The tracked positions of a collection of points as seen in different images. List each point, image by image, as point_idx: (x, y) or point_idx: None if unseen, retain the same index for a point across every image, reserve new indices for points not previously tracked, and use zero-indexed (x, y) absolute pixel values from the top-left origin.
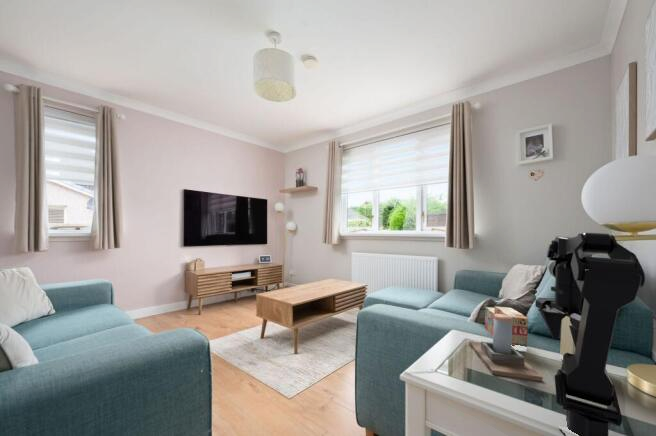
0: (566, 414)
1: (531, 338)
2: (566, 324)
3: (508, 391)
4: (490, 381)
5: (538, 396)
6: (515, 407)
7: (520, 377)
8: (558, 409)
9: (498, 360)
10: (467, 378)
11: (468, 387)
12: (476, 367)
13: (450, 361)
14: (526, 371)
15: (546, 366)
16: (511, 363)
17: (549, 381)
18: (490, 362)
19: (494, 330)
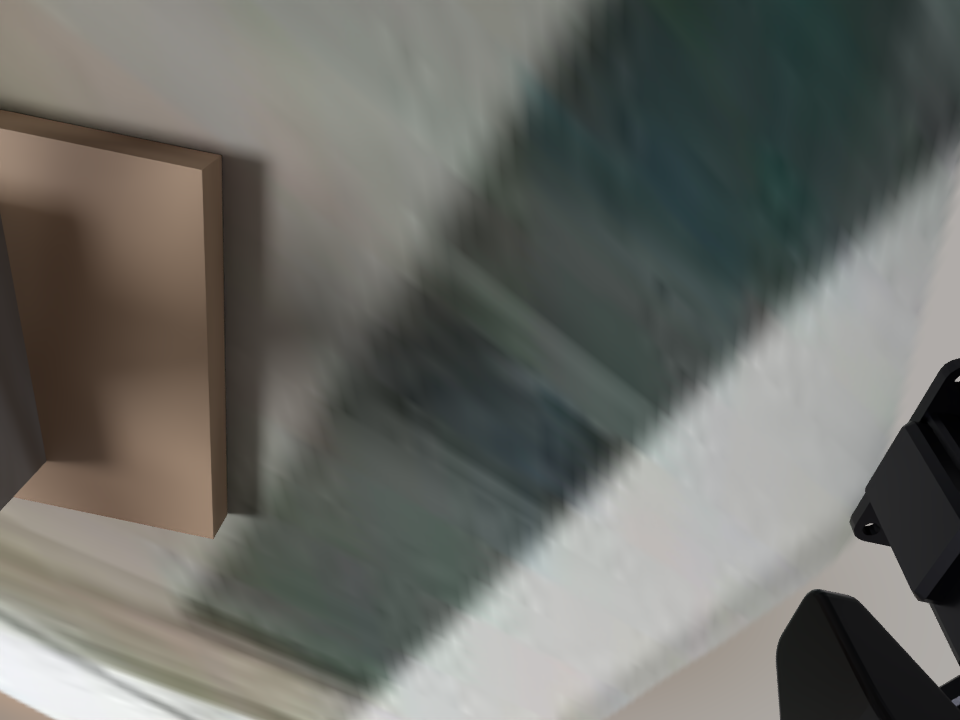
0: (893, 548)
1: None
2: None
3: (454, 543)
4: (340, 576)
5: (497, 384)
6: (632, 609)
7: (220, 338)
8: (664, 361)
9: (27, 430)
10: (334, 675)
11: (440, 715)
12: (151, 558)
13: (125, 663)
14: (132, 266)
15: None
16: (13, 320)
17: (199, 67)
18: (69, 481)
19: None
